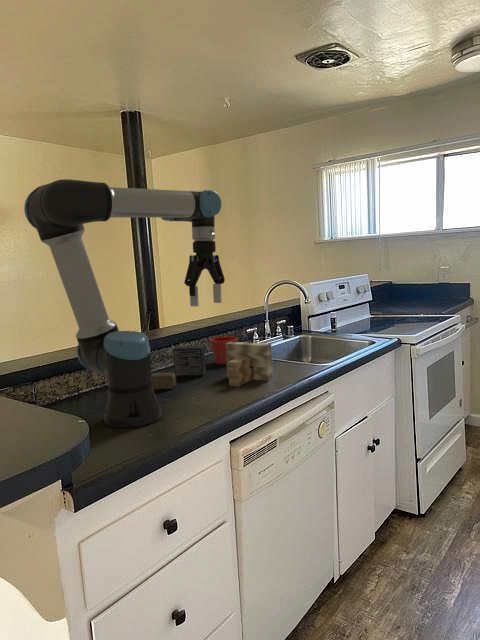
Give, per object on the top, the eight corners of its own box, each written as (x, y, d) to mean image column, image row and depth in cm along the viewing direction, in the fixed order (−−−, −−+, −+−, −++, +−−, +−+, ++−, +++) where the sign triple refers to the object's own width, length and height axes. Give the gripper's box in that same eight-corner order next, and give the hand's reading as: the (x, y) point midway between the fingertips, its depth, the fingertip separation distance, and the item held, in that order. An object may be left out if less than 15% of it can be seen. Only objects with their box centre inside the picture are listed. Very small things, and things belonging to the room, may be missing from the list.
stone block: (173, 390, 159) (172, 375, 158) (139, 391, 160) (138, 376, 159) (177, 385, 164) (176, 371, 164) (144, 386, 165) (142, 372, 165)
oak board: (238, 386, 158) (237, 362, 157) (229, 385, 160) (227, 361, 159) (268, 370, 177) (267, 349, 176) (260, 369, 179) (259, 348, 178)
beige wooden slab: (272, 378, 166) (271, 343, 164) (268, 380, 163) (266, 345, 161) (232, 374, 174) (230, 341, 172) (227, 377, 171) (225, 343, 169)
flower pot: (213, 360, 200) (211, 336, 198) (239, 358, 199) (238, 335, 198) (210, 366, 189) (209, 341, 188) (238, 364, 189) (237, 340, 187)
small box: (206, 372, 180) (204, 344, 178) (203, 376, 173) (201, 348, 172) (178, 373, 181) (176, 345, 180) (174, 377, 175) (172, 349, 173)
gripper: (190, 238, 148) (193, 308, 151) (233, 240, 169) (235, 301, 172) (171, 240, 152) (174, 307, 154) (215, 241, 173) (217, 301, 176)
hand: (206, 304), depth 163 cm, fingers open, 13 cm apart
